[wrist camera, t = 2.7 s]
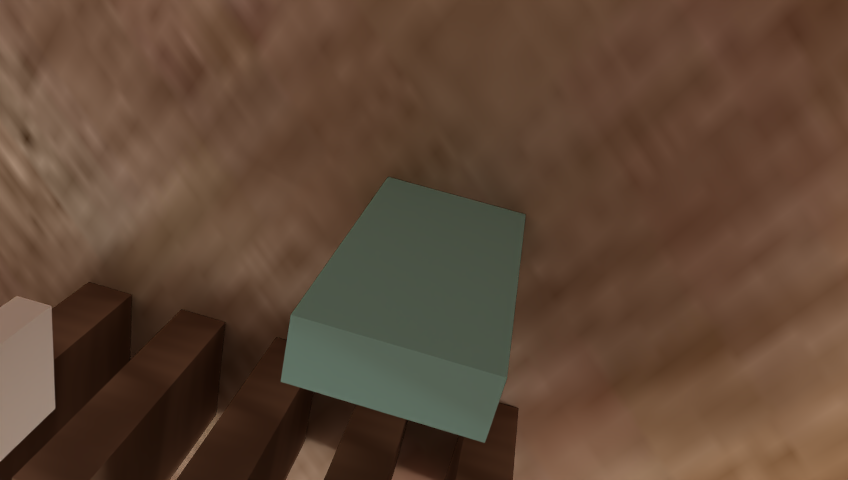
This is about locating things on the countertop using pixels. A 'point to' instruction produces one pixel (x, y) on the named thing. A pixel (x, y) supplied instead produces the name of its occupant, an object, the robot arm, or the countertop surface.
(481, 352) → the domino
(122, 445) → the domino
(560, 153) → the countertop surface
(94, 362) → the domino
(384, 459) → the domino
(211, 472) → the domino
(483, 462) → the domino
